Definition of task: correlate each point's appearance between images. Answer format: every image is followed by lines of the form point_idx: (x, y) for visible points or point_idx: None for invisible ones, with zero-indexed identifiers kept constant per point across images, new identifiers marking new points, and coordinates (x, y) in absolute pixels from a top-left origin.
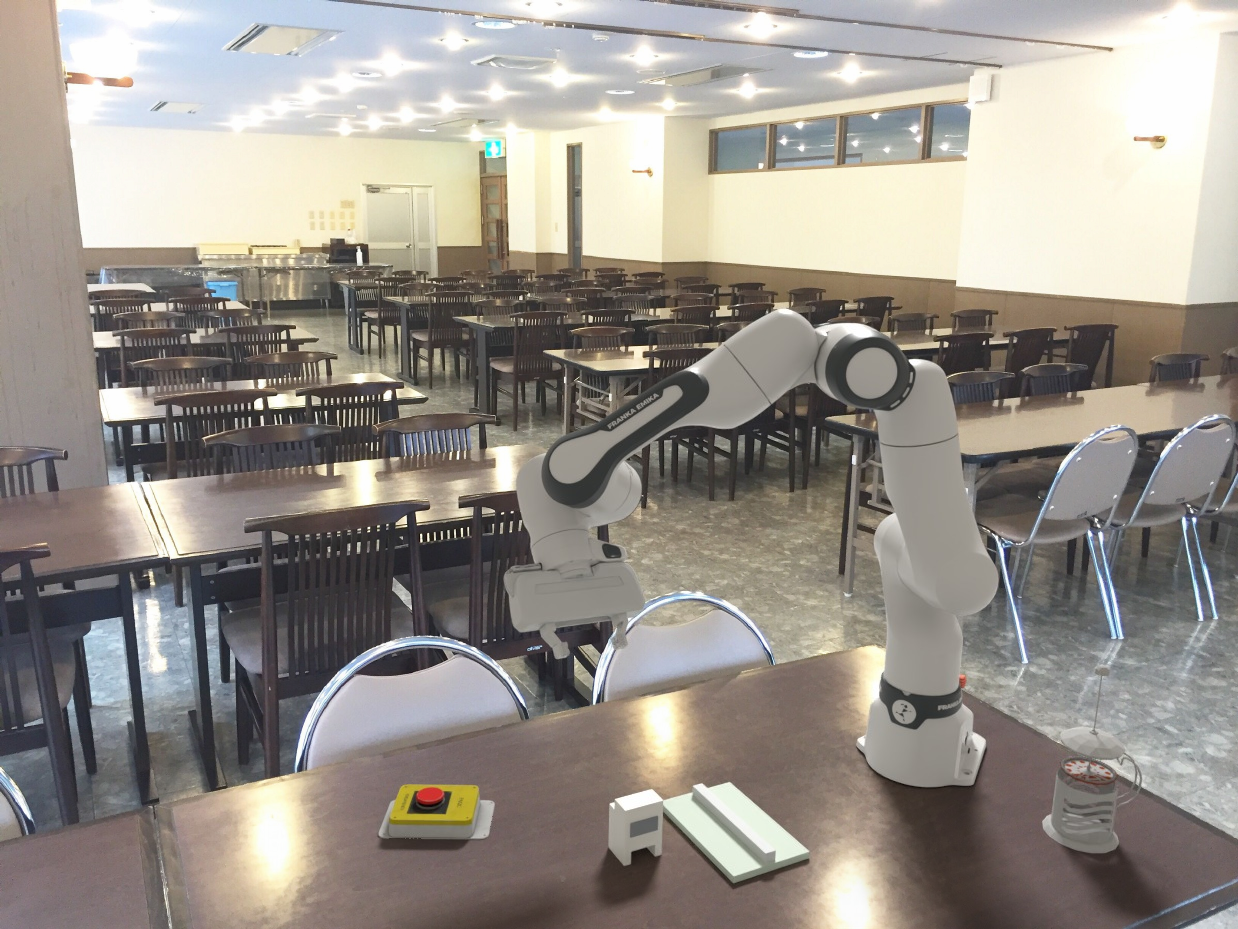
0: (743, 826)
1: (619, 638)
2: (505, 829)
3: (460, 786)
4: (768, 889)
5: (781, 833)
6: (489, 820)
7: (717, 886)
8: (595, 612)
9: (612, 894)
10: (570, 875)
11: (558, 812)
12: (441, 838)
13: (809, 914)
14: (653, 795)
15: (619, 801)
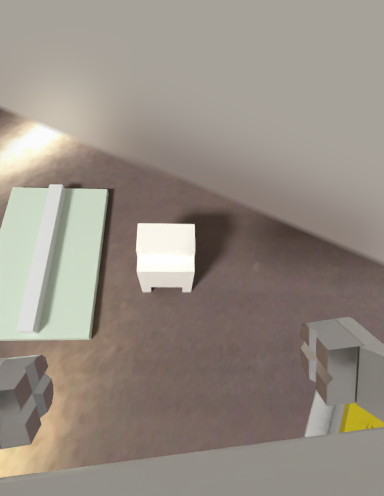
0: (45, 228)
1: (13, 374)
2: (296, 382)
3: None
4: (86, 176)
5: (10, 220)
6: (314, 411)
7: (124, 196)
8: (81, 480)
9: (219, 226)
10: (247, 267)
11: (218, 390)
12: None
13: (79, 143)
14: (143, 237)
15: (191, 244)
